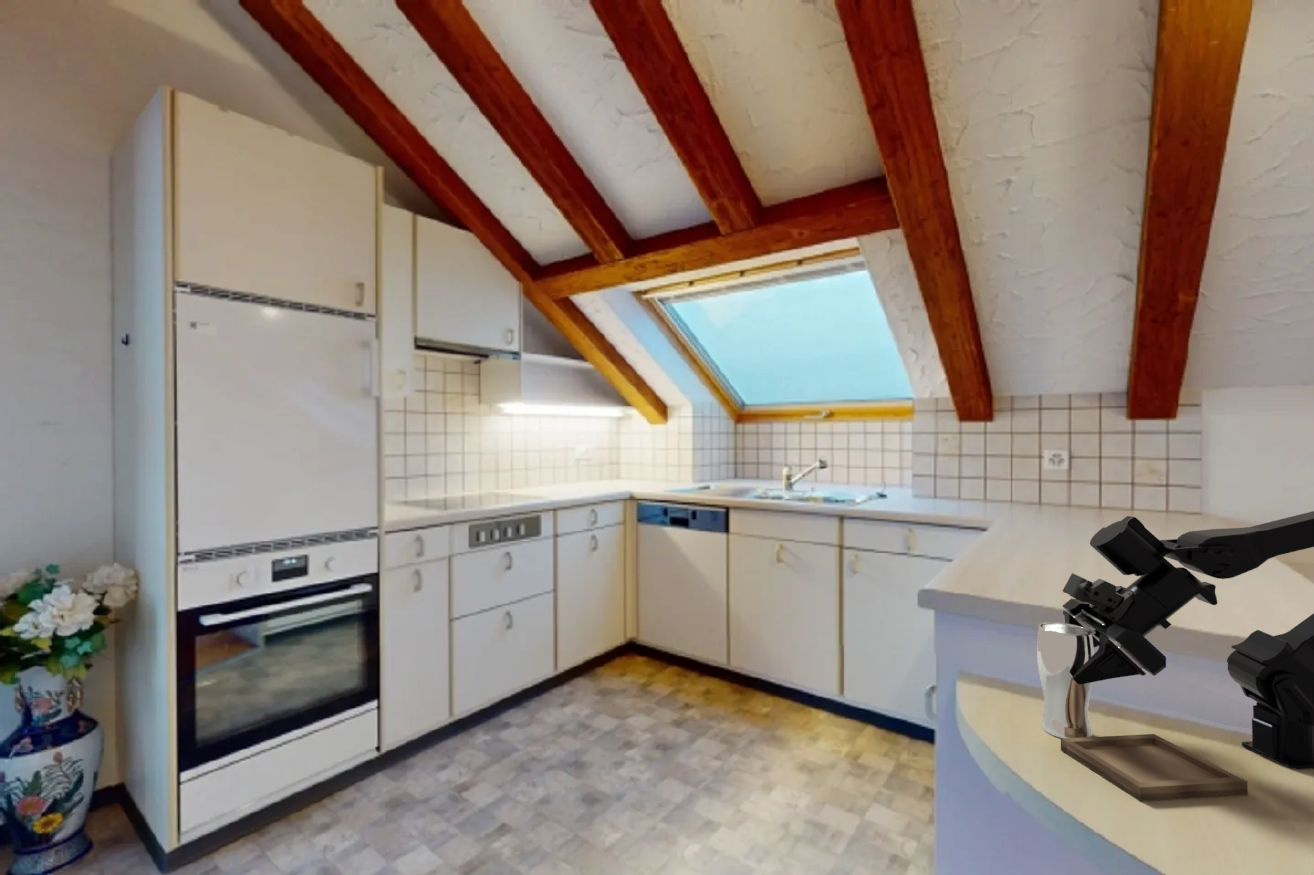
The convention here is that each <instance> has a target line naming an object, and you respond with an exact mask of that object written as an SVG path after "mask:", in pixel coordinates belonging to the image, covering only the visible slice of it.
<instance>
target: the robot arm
mask: <svg viewBox="0 0 1314 875" xmlns="http://www.w3.org/2000/svg"><path fill="white" fill-rule="evenodd" d="M1089 545H1090V546H1091V547H1092V548H1093V550H1095V551H1096V552H1097V553H1099V554H1100V556H1101V557H1103V558H1104V560H1106V561H1107V562H1108V563H1110V564H1111V565H1112V567H1114V568H1115V569H1116V570H1117V571H1119V573H1121V574H1122V575H1123V576H1132V575H1134V576H1136V577H1138V578H1137V579H1136V580H1135V581H1133V582H1132V583H1131V584H1130V585H1128V586H1127V587H1124V586H1123V585H1115V584H1112V583H1110V582H1108V581H1107V580H1104V579H1101V578H1098V579H1096V580H1094V581H1090V580H1088V579H1087V578H1084V577H1081V576H1080V575H1077V574H1075V573H1073V572H1072V573H1071V574H1070V576H1069V577H1068V580H1067V581H1066V584H1065V586H1064V587H1063V589H1062V593H1064V594H1065V593H1066V594H1067V595H1069V597H1071V598H1070V599H1069V600H1068V601H1066V602H1064V604H1063V605H1062V608H1063V611H1062V615H1063V616H1064V622H1065V623H1067V624H1072V625H1077V626H1081V627H1084V628H1087V629H1089V630H1091V631H1092V638H1093V647H1094V648H1096V647H1098V650H1096V652H1094V655H1093V656H1092V657H1091V658H1090V659H1089V660H1088V661H1087V662H1086V663H1085V664H1084V665H1083V666H1082V667H1081V668H1080V669H1079V670H1078V671H1077V673H1076V674H1075V675H1074V676H1073V680H1074V681H1075V682H1076V683H1078V684H1086V683H1091V682H1093V683H1096V682H1101V681H1106V680H1112V679H1116V678H1117V679H1118V678H1124V677H1132V676H1139V675H1140V676H1145V675H1147V673H1149V674H1151V675H1152V676H1153V677H1155V676H1156V675H1158V674H1159V673H1161V672H1162V671H1163V670H1165V668H1167V657H1166V656H1165V654H1163V653H1162V652H1161V651H1160V650H1159V649H1158V648H1157V647H1156V646H1155V645H1153V644H1152V643H1151V642H1150V640H1148V639H1147V638H1146V636H1148V635H1149V634H1150V633H1151V632H1153V631H1154V630H1155V629H1156V628H1158V627H1160V628H1163V629H1164V630H1166V629H1168V628H1169V627H1170V626H1172V623H1170V622H1169V621H1168V619H1169V618H1171V617H1172V616H1173V615H1174V614H1176V613H1177V612H1178V611H1180V609H1182V608H1183V607H1184V606H1186V605H1187V604H1188V603H1190V602H1191V601H1192V600H1193V599H1194V598H1195V599H1197V600H1198V601H1201V602H1203V603H1207V604H1209V605H1212V606H1216V605H1217V604H1218V598H1217V595H1216V588H1217V587H1216V585H1215V584H1213V583H1210V582H1206V581H1201V580H1200V579H1199V578H1197V577H1196V576H1195V575H1194V574H1193V573H1192V572H1191V571H1193V572H1196V573H1198V574H1201V575H1202V574H1203V575H1206V576H1209V577H1212V578H1214V579H1215V578H1216V579H1222V580H1227V579H1232V578H1236V577H1239V576H1241V575H1243V574H1245V573H1247V572H1248V573H1249V572H1250V571H1253V570H1255V569H1258V568H1259V567H1260V566H1261V565H1263V564H1264V563H1266V562H1267V561H1268V560H1270V559H1273V558H1275V557H1278V556H1281V555H1285V554H1291V553H1294V552H1297V551H1303V550H1308V549H1310V548H1314V510H1312V511H1309V512H1304V513H1301V514H1296V515H1293V516H1288V517H1284V518H1281V519H1277V520H1273V521H1272V520H1271V521H1269V522H1264V523H1261V524H1255V525H1253V526H1246V527H1233V528H1231V527H1230V528H1211V529H1200V530H1192V531H1188V532H1187V531H1186V532H1185V533H1183V534H1180V535H1179V536H1178V538H1173V539H1171V538H1170V539H1159V538H1158V537H1157V536H1156V535H1154V534H1153V533H1152V532H1150V531H1149V530H1148V529H1147V528H1146V527H1145V525H1144V524H1143V522H1142V521H1141V520H1139V518H1137V517H1135V516H1130V515H1126V516H1125V517H1124V518H1122V519H1121V520H1118V521H1116V522H1113V523H1110V525H1107V526H1105V527H1102V528H1101V529H1100V530H1098V531H1097V532H1096V533H1094V535H1093V536H1092V537H1091V539H1090V542H1089ZM1166 558H1167V559H1166ZM1168 559H1170V560H1174V561H1177V562H1178V563H1179V564H1180V565H1182V566H1183V567H1176V566H1174V565H1173V564H1172V563H1171V562H1170V561H1169V560H1168ZM1189 570H1190V571H1189ZM1231 649H1233V651H1232V652H1231V653H1230V654H1229V655H1228V657H1227V659H1226V663H1227V670H1228V673H1229V675H1230V677H1231V678H1232V680H1233V681H1234V682H1235V683H1237V684H1238V685H1239V686H1240V688H1241V690H1242V692H1243V695H1244V696H1245V697H1247V698H1249V699H1252V700H1254V701H1255V702H1256V705H1252V716H1253V717H1252V718H1251V741H1250V740H1249V741H1247V740H1246V741H1241V746H1242V747H1245V748H1246V749H1248V750H1250V751H1253V752H1255V753H1257V754H1260V755H1262V756H1264V757H1266V758H1268V759H1270V760H1273V761H1275V762H1277V763H1279V764H1281V765H1284V766H1285V767H1287V768H1290V769H1294V770H1305V769H1309V770H1310V769H1314V612H1313V613H1311V615H1309V616H1308V617H1307V618H1305V619H1304V620H1303V621H1301V622H1299V623H1298V624H1297V625H1295V626H1294V627H1293V628H1291V629H1290V630H1289V631H1287V632H1284V633H1281V634H1277V635H1272V634H1270V633H1267V632H1264V631H1262V630H1260V629H1256V630H1254V631H1253V632H1251V633H1250V634H1249V635H1248V637H1247V638H1245V639H1244V640H1243V641H1242V642H1240V643H1238V644H1234V645H1231ZM1145 671H1146V672H1147V673H1146V672H1145Z"/></svg>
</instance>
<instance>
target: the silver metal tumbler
mask: <svg viewBox="0 0 1314 875" xmlns="http://www.w3.org/2000/svg"><path fill="white" fill-rule="evenodd" d="M1037 627H1038V630H1037V639H1036V640H1037V641H1036V658H1037V659H1036V661H1037V668H1038V673H1039V678H1040V682H1041V683H1040V684H1041V688H1042V694H1043V700H1044V706H1043V708H1044V709H1043V714H1042V718H1041V729H1042V730H1044V731H1045V732H1046V733H1047V734H1049V735H1051V736H1054V737H1056V738H1059V739H1061V738H1082V737H1093V734H1092V733H1093V732H1092V729H1091V728H1092V727H1091V723H1090V718H1089V703H1090V698H1091V693H1092V688H1093V683H1094V682H1091V683H1086V684H1078V683H1076V682H1075V681H1074V680H1073V676H1074V675H1075V674H1076V673H1077V671H1078V670H1079V669H1080V668H1081V667H1082V666H1083V665H1084V664H1085V663H1086V662H1087V661H1088V660H1089V659H1090V658H1091V657H1092V656H1093V655H1094V654H1095V651H1094V650H1095V647H1093V638H1092V631H1091V630H1089V629H1087V628H1084V627H1081V626H1077V625H1072V624H1067V623H1064V622H1057V621H1053V622H1052V621H1046V622H1041V623H1038V625H1037Z"/></svg>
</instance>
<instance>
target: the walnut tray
mask: <svg viewBox="0 0 1314 875" xmlns="http://www.w3.org/2000/svg"><path fill="white" fill-rule="evenodd" d="M1060 751H1061V752H1063V753H1064V754H1066V755H1068V756H1069V757H1071V758H1072V759H1074V760H1075V761H1077V762H1078V763H1079V764H1081V765H1082V766H1084V767H1086V768H1088V769H1090V771H1092V772H1094V773H1096V774H1097V775H1098V776H1100V777H1101V778H1103V779H1105V780H1107V781H1108V782H1110V784H1111V783H1112V785H1114V786H1115V787H1117V788H1118V789H1120V790H1122V791H1123V792H1125V793H1126V794H1128V795H1129V796H1131V797H1133V798H1134V799H1136V800H1138V801H1139V802H1151V801H1152V802H1153V801H1166V800H1167V801H1170V800H1171V801H1173V800H1183V799H1184V800H1186V799H1200V798H1203V799H1204V798H1219V797H1233V796H1234V797H1235V796H1248V795H1249V791H1248V783H1249V782H1248V780H1245V779H1244V778H1242V777H1240V776H1238V775H1236V774H1234V773H1233V772H1230V771H1228V770H1227V769H1225V768H1222V767H1220V766H1218V765H1216V764H1215V763H1212V762H1210V761H1209V760H1206V759H1204V757H1203V758H1202V757H1200V756H1198V755H1196V754H1194V753H1192V752H1190V751H1189V750H1187V749H1185V748H1183V747H1181V746H1178V745H1177V744H1175V743H1173V742H1171V741H1169V740H1168V739H1165V738H1162V737H1161V736H1159V735H1157V734H1155V733H1149V734H1148V733H1147V734H1127V735H1126V734H1125V735H1108V736H1106V735H1104V736H1092V737H1082V738H1060Z"/></svg>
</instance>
